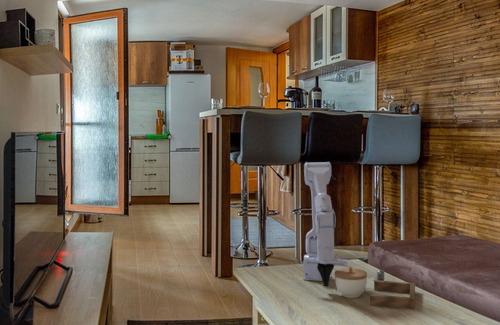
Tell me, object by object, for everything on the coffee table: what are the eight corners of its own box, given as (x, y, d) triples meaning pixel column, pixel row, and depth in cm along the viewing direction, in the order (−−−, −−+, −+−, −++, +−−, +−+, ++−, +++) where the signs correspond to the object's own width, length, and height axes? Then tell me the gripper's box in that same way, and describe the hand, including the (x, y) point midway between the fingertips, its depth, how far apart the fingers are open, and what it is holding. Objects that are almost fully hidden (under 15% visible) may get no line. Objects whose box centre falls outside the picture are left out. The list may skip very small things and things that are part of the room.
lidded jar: (368, 291, 171) (368, 264, 171) (365, 301, 161) (365, 272, 161) (337, 289, 175) (337, 262, 175) (332, 298, 165) (332, 270, 164)
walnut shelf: (369, 304, 158) (369, 295, 158) (374, 288, 175) (374, 280, 175) (414, 308, 153) (414, 299, 153) (415, 291, 170) (415, 283, 170)
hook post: (376, 289, 173) (376, 272, 173) (377, 286, 178) (377, 269, 177) (383, 290, 172) (383, 273, 172) (384, 286, 177) (384, 270, 176)
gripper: (302, 247, 169) (302, 287, 170) (345, 250, 164) (345, 290, 165) (306, 243, 176) (307, 281, 176) (348, 245, 171) (348, 284, 172)
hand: (326, 285), depth 171 cm, fingers closed
